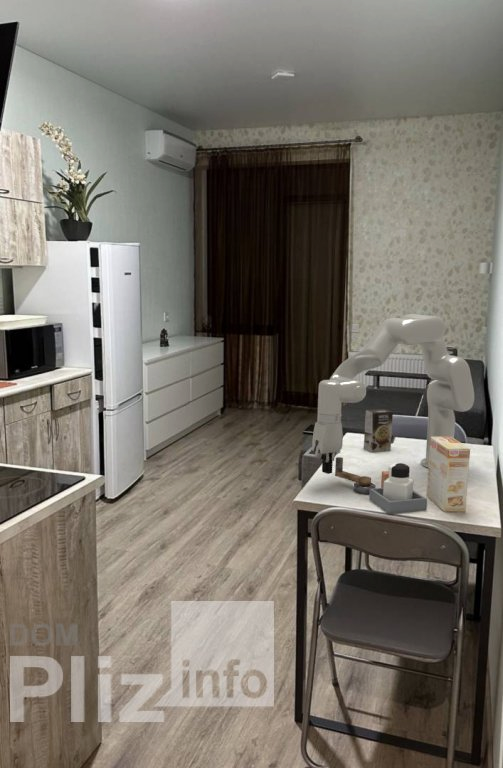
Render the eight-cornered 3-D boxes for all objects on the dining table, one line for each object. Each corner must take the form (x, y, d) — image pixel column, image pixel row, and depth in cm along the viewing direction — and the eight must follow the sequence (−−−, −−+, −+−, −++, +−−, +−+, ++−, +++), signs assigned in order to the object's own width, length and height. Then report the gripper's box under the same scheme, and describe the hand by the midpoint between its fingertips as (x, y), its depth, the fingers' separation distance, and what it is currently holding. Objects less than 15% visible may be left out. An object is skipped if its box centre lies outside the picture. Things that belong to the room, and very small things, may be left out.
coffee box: (372, 453, 255) (374, 413, 252) (363, 448, 260) (364, 409, 258) (391, 450, 258) (393, 411, 255) (382, 446, 264) (384, 408, 261)
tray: (404, 495, 205) (405, 485, 205) (426, 509, 194) (427, 498, 193) (369, 499, 202) (369, 488, 201) (389, 513, 190) (389, 502, 189)
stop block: (383, 495, 206) (385, 474, 205) (380, 492, 209) (382, 471, 207) (393, 495, 206) (394, 474, 205) (389, 491, 209) (391, 471, 208)
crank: (373, 484, 209) (374, 465, 208) (365, 486, 206) (366, 468, 205) (339, 474, 219) (340, 456, 218) (332, 476, 217) (332, 458, 216)
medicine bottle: (412, 501, 199) (414, 463, 197) (405, 508, 193) (407, 469, 191) (390, 496, 203) (392, 460, 200) (382, 503, 196) (384, 465, 194)
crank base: (369, 486, 214) (369, 480, 214) (379, 493, 207) (379, 487, 207) (349, 488, 212) (350, 482, 212) (359, 495, 205) (359, 489, 205)
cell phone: (395, 436, 282) (395, 435, 282) (392, 444, 269) (392, 442, 269) (378, 435, 285) (378, 433, 284) (375, 443, 271) (375, 441, 271)
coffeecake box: (466, 511, 192) (471, 448, 189) (443, 512, 192) (447, 448, 189) (447, 494, 207) (451, 435, 204) (425, 495, 207) (429, 436, 203)
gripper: (337, 413, 217) (334, 466, 220) (304, 418, 208) (302, 473, 211) (353, 417, 211) (351, 471, 215) (320, 423, 202) (318, 479, 205)
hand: (327, 472), depth 213 cm, fingers closed
